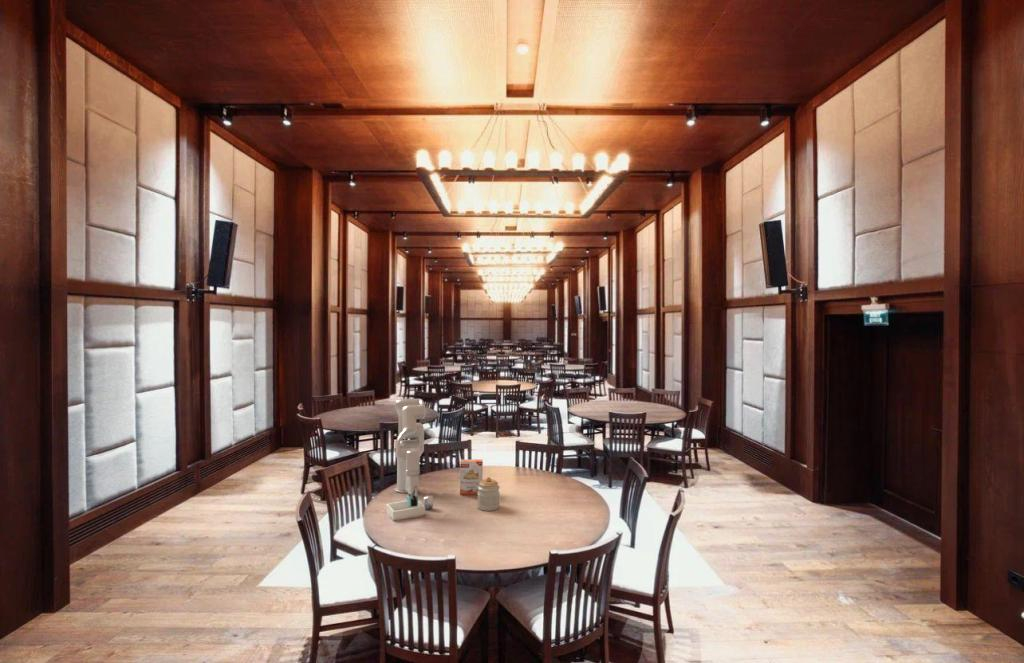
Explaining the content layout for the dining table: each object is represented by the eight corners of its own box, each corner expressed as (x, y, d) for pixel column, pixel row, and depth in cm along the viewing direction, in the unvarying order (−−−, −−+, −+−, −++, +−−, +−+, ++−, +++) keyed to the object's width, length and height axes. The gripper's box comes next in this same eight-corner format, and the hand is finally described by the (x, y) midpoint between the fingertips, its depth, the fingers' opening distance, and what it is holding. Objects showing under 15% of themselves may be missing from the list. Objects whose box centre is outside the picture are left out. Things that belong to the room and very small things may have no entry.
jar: (473, 509, 306) (473, 478, 305) (483, 502, 318) (484, 472, 317) (493, 512, 300) (493, 481, 300) (503, 505, 312) (503, 475, 312)
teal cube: (406, 504, 300) (406, 495, 300) (415, 502, 302) (415, 494, 302) (409, 507, 295) (409, 498, 295) (418, 505, 298) (418, 496, 297)
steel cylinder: (422, 508, 306) (422, 496, 306) (430, 506, 309) (430, 494, 308) (425, 511, 302) (425, 498, 302) (433, 509, 304) (433, 497, 304)
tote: (386, 512, 299) (386, 503, 299) (417, 507, 307) (417, 498, 307) (393, 521, 286) (393, 511, 286) (425, 515, 295) (425, 506, 295)
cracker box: (459, 495, 330) (460, 461, 329) (459, 492, 336) (460, 459, 335) (482, 494, 331) (482, 461, 330) (482, 491, 337) (482, 458, 336)
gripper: (401, 469, 304) (401, 500, 304) (410, 477, 289) (410, 510, 289) (414, 467, 307) (414, 498, 308) (424, 475, 292) (423, 508, 293)
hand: (412, 504), depth 299 cm, fingers closed on teal cube, 4 cm apart
